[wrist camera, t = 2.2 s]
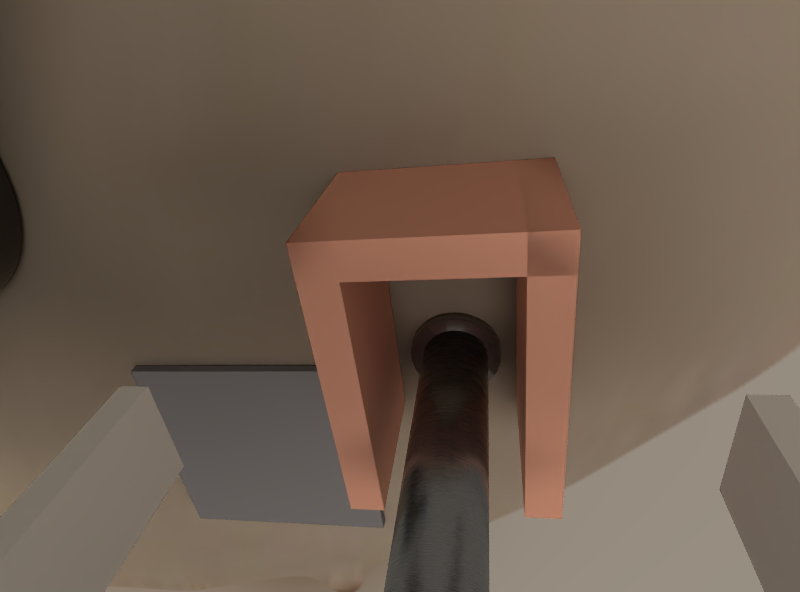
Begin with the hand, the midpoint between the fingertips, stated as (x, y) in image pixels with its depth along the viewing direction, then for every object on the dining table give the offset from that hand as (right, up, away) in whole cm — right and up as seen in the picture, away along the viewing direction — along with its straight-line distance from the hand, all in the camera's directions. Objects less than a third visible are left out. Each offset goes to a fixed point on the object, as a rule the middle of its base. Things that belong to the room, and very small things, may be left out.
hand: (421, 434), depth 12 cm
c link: (+2, +3, +13) cm, 14 cm away
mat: (-9, -6, +21) cm, 23 cm away
